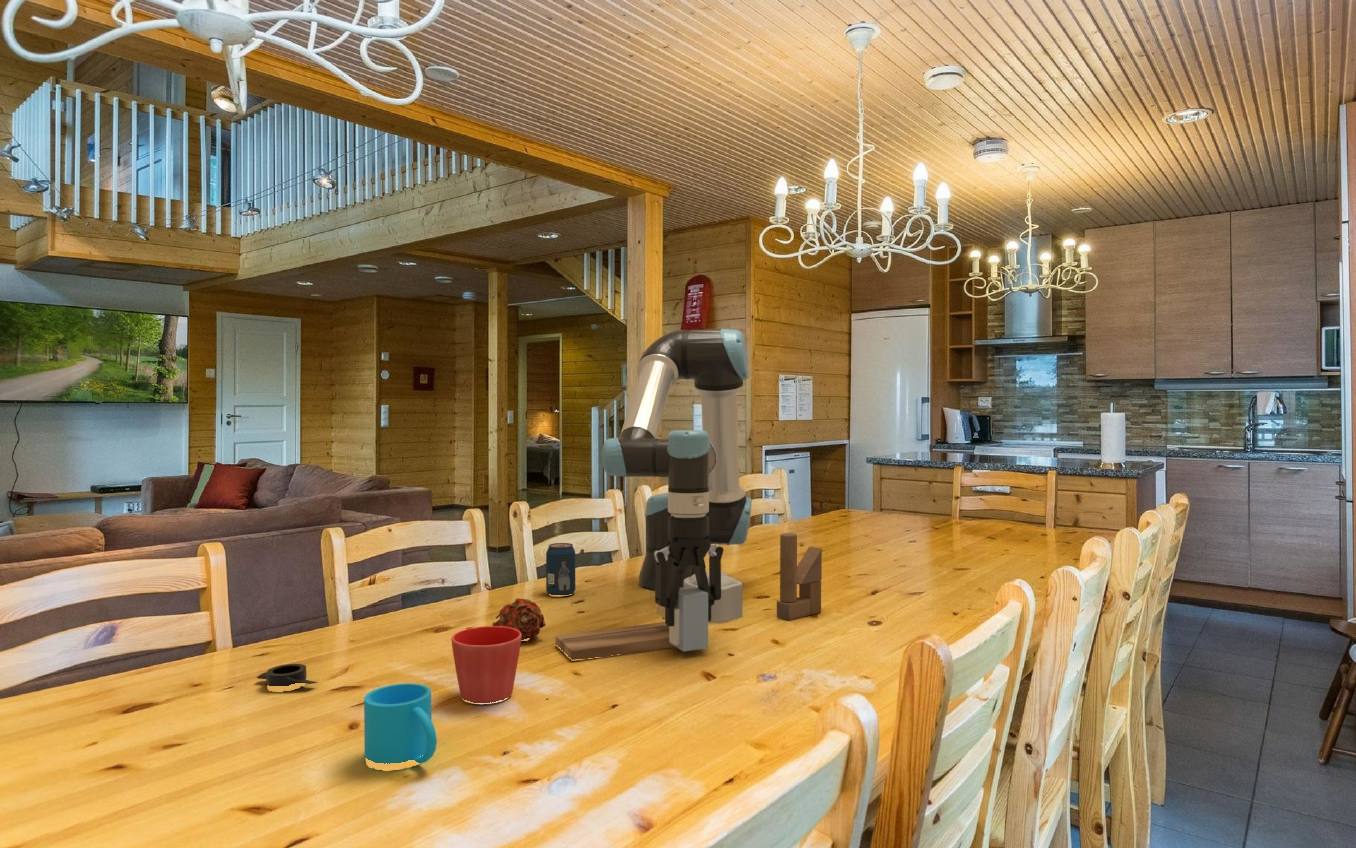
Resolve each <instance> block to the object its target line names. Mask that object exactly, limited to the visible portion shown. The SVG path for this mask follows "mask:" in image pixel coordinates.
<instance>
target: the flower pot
mask: <svg viewBox="0 0 1356 848" xmlns="http://www.w3.org/2000/svg"><path fill="white" fill-rule="evenodd" d="M521 638H522V634H521V632H520V631H519V630H517V629H514V628H511V627H504V626H492V625H485V626H477V627H475V626H474V627H470V628H466V629H462V630H459V631H457V632H455V633H454V634H453V635H452V636H451V648H452V655H453V660H454V667H455V673H456V679H457V684H458V688H459V693H460V698H463V699H464V700H467V701H470V702H473V703H490V702H491V703H492V702H496V701H499V700H504V699H505V698H508V697H509V696H510V695H511V694H512V695H513V691H514V685H515V680H516V679H515V678H516V673H517V669H518V661H519V658H520V652H521V651H520V650H521V644H522V641H521ZM512 695H511V696H512Z"/></svg>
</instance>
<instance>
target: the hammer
mask: <svg viewBox="0 0 1356 848" xmlns="http://www.w3.org/2000/svg"><path fill="white" fill-rule="evenodd" d="M675 607H676V608H678V609H679V645H674V644H673V643H671V642H670V641H669V643H671V644H672V645H674V646H675V647H674V648H677V649H678V650H680V651H681V652H690V651H695V650H696V651H697V650H702V649H709V622H708V593H707V592H705V591H703V590H700V589H698V588H696V587H694V586H691V587H682V588H680V589H679V593H678V598H677V602H676V606H675ZM656 614H657V615H658V616H660V617H661V619H662V620H665V607H662V606H660V605H658V604H657V603H656Z"/></svg>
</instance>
